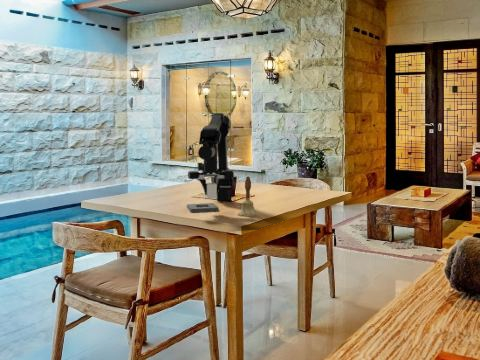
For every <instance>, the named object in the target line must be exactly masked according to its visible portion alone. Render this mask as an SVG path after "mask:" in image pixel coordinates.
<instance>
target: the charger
mask: <svg viewBox="0 0 480 360" xmlns="http://www.w3.org/2000/svg"><path fill="white" fill-rule="evenodd" d="M206 188H207V195H205V198H206V199H207V200H209V199H210V200H211V199H213V200H214V199H216V198H217V184H215V183H214V182H206Z"/></svg>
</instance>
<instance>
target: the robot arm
mask: <svg viewBox="0 0 480 360" xmlns="http://www.w3.org/2000/svg"><path fill="white" fill-rule="evenodd" d="M231 128H232V121H231V119H230V117H228V116H226V115H225V114H224V113H223V112H214V113H212V115H211V118H210V121H209V123H208V125H205V126H204V127H203V128H202V129H201V130H200V132H199V133H200V135H199V140H198V141H199V142H198V145H201V146H200V148H198V152H197V153H198V157H199V158H200V159H201V160H203V162H197V170H189V171H188V172H187V178H188V179H189V180H197V181H198V182H199V183H200V184H201V186H202V189H203V192H204V195H205V196H206V195H207V188H206V183H207V179H206V178H205V177H214V179H213V180H214V182H213V183H215V184H217V198H215V199H216V201H217V202H218V203H231V202H233V199H232V190H233V189H235V180H234V177H235V171H233V170H231V169H230V168H229V167H228V163H229V162H228V161H229V160H228V138H227V137H228V135H229V134H230V131H231ZM199 171H200V172H199Z"/></svg>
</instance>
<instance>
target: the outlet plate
mask: <svg viewBox="0 0 480 360" xmlns="http://www.w3.org/2000/svg"><path fill="white" fill-rule="evenodd" d="M186 208H187V209H188V211H189V212H190V213H205V212H219V210H220V209H219V207H218V205H216V204H215V203H214V202H206V203H202V202H199V203H187V204H186Z"/></svg>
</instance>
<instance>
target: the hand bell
mask: <svg viewBox="0 0 480 360" xmlns="http://www.w3.org/2000/svg"><path fill="white" fill-rule="evenodd" d="M244 188H245V189H244V190H245V200H244V201H242V202H241V203H242V204H241V208H240V210H239V212H237V215H238V217H239V216H240V217H255V216H258V212H257V211H256V210H255V207H254V202H253V201H252V200H251V199H250V197H251V196H250V195H251V189H252V180H251V178H250V176H246V178H245V181H244Z"/></svg>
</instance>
